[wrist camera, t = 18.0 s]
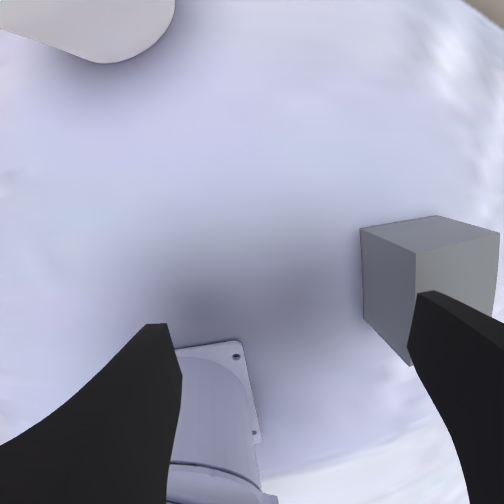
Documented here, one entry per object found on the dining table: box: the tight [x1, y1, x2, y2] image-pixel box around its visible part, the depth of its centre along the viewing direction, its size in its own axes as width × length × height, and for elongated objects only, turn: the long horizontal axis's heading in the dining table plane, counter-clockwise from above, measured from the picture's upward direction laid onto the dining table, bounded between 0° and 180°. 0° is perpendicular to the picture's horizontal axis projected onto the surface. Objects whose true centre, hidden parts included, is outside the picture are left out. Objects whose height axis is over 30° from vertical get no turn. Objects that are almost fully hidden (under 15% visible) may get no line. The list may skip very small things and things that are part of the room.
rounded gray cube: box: [360, 215, 500, 367], centre depth 16 cm, size 6×6×6 cm
